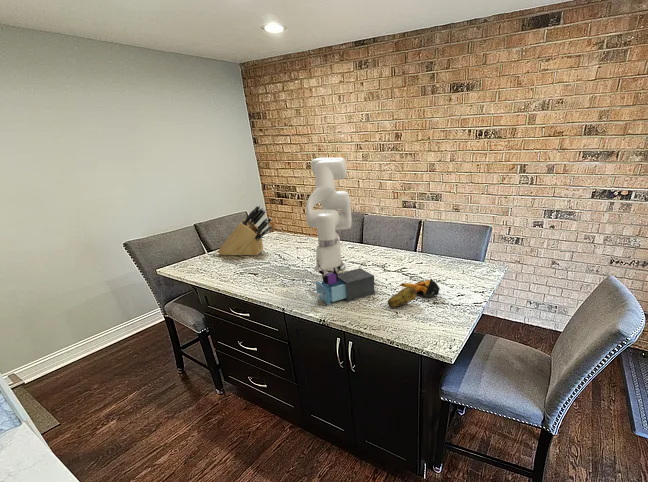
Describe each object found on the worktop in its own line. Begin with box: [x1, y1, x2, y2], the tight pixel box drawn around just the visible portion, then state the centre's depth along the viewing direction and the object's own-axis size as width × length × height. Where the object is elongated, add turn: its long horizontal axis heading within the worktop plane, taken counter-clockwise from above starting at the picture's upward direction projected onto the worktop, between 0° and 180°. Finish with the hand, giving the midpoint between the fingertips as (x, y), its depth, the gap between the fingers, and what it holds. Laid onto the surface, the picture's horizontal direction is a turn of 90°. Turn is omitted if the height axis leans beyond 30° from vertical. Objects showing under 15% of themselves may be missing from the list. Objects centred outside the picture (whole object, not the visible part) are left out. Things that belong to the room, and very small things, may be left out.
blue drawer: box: [308, 279, 347, 305], centre depth 153 cm, size 18×11×7 cm, turn 125°
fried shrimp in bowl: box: [399, 278, 441, 298], centre depth 156 cm, size 9×11×18 cm
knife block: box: [217, 204, 273, 256], centre depth 216 cm, size 11×35×31 cm, turn 89°
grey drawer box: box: [338, 267, 376, 302], centre depth 159 cm, size 15×13×9 cm
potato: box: [387, 287, 417, 308], centre depth 146 cm, size 8×13×8 cm, turn 93°
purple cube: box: [326, 271, 337, 285], centre depth 150 cm, size 4×4×4 cm
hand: (330, 281), depth 151 cm, fingers closed on purple cube, 4 cm apart
